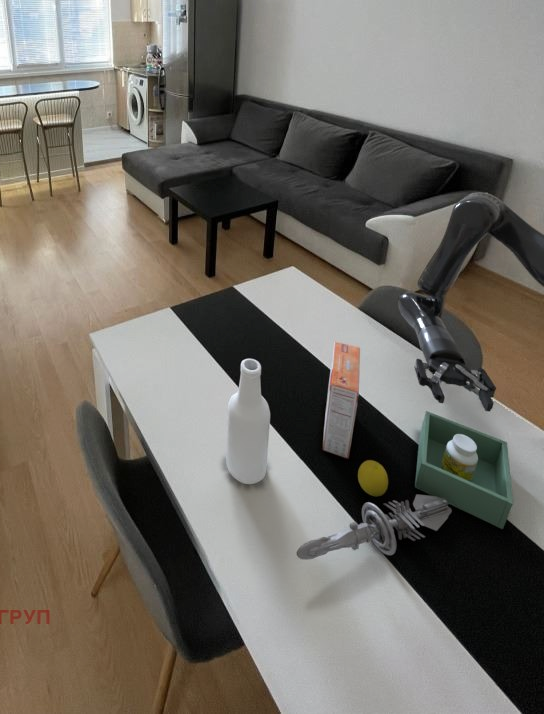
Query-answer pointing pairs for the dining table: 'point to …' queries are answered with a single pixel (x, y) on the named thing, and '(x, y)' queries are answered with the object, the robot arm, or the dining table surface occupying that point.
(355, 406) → the cracker box
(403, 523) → the spaceship
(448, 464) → the supplement bottle
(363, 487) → the lemon
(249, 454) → the alcohol
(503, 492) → the open storage box
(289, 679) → the dining table surface
